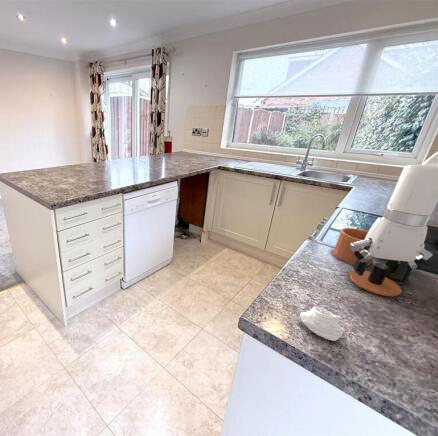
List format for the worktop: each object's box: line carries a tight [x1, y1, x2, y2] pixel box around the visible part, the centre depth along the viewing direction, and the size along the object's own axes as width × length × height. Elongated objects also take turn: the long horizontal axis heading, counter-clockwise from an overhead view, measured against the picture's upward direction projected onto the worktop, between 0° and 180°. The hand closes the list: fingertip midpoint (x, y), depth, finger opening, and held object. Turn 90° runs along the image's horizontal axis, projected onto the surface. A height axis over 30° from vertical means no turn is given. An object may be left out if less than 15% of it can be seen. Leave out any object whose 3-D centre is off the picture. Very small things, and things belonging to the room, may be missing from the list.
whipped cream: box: [299, 306, 346, 342], centre depth 53 cm, size 8×7×5 cm
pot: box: [333, 227, 374, 267], centre depth 79 cm, size 10×10×8 cm
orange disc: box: [349, 262, 402, 297], centre depth 66 cm, size 11×11×6 cm
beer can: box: [385, 243, 426, 285], centre depth 68 cm, size 5×5×12 cm
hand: (378, 275), depth 66 cm, fingers open, 9 cm apart
